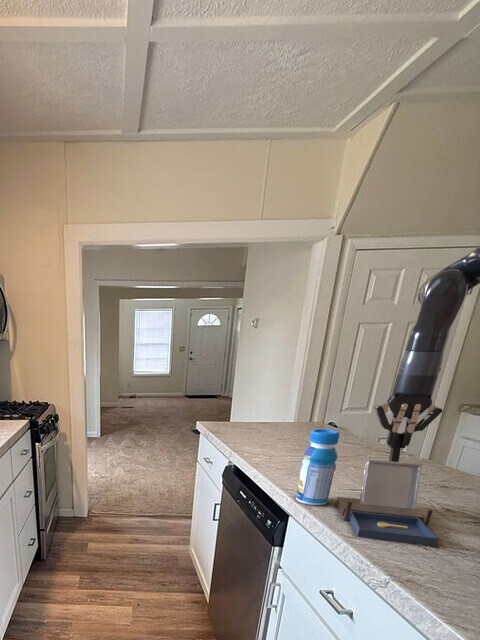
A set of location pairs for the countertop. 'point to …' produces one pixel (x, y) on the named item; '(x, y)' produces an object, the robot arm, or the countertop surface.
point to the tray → (391, 528)
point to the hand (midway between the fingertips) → (396, 446)
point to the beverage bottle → (318, 467)
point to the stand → (378, 510)
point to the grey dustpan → (391, 481)
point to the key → (390, 525)
